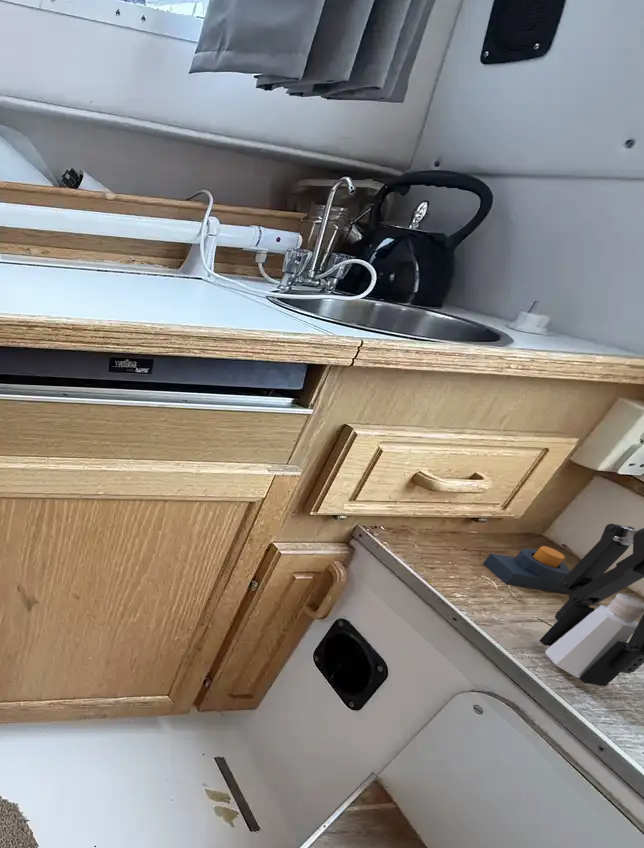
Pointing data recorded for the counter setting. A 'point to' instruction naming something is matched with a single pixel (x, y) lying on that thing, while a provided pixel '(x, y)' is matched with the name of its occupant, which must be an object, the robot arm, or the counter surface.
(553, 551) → the orange button cap
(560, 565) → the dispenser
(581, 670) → the salt shaker
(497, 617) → the counter surface
